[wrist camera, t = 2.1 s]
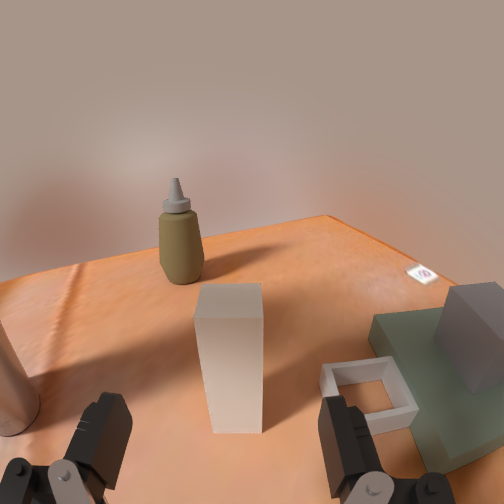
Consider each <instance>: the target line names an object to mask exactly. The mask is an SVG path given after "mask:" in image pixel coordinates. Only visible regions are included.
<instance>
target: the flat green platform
mask: <svg viewBox="0 0 504 504" xmlns="http://www.w3.org/2000/svg"><path fill="white" fill-rule="evenodd" d="M368 340H369V342H370V344H371V346H372V348H373V350H374V352H375V354H376V356H377V358H373V359H365V360H357V361H348V362H338V363H327V364H322V369H321V374H320V379H319V385H320V389H321V393H322V397H329V396H337V395H339V392H338V389H337V386H341V385H350V384H357V383H364V382H371V381H378V380H382V382H383V385H384V387H385V389H386V391H387V394H388V396H389V398H390V401H391V403H392V405H393V408H394V409H390V410H386V411H380V412H375V413H370V414H364V416H365V418H366V421H367V424H368V428H369V430H370V433H371V436H372V435H377V434H381V433H386V432H390V431H395V430H399V429H403V428H407V427H409V428H410V430H411V433H412V435H413V438H414V440H415V442H416V445H417V447H418V450H419V452H420V455H421V457H422V460H423V462H424V465H425V467H426V470H427V472H428V473H429V472H438V473H441V474H443V475H444V474H446V473H449V472H451V471H453V470H456V469H458V468H460V467H462V466H465V465H467V464H469V463H471V462H473V461H475V460H477V459H479V458H481V457H483V456H485V455H487V454H489V453H491V452H493V451H494V450H496V449H498V448H500V447H502V446H503V445H504V289H503V288H501V287H500V286H499V285H498V284H497V283H496V282H488V283H479V284H471V285H460V286H450V288H449V292H448V295H447V298H446V301H445V305H444V307H440V308H432V309H424V310H416V311H407V312H397V313H387V314H376V315H374V317H373V321H372V326H371V330H370V334H369V338H368Z"/></svg>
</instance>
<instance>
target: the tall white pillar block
mask: <svg viewBox="0 0 504 504" xmlns="http://www.w3.org/2000/svg"><path fill="white" fill-rule="evenodd" d="M193 319H194V326H195V333H196V339H197V346H198V352H199V358H200V364H201V370H202V376H203V382H204V387H205V393H206V398H207V404H208V409H209V414H210V419H211V424H212V429H213V433H231V434H246V433H262V403H263V336H264V315H263V303H262V291H261V283H244V284H202V286H201V290H200V294H199V298H198V302H197V305H196V309H195V313H194V317H193Z"/></svg>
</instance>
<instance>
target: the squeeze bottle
mask: <svg viewBox="0 0 504 504" xmlns="http://www.w3.org/2000/svg"><path fill="white" fill-rule="evenodd" d="M190 208H191V204H190V199H189V198H184V196H183V193H182V190H181V186H180V182H179V179H178V178H174V179H171V186H170V193H169V199H167V200H165V201H163V210H164V213H162V215H160V217H159V252H160V264H161V266H162V268H163V270H164V272H165V274H166V275H167V277H168V279H169V281H170V282H172V283H174V284H188V283H192V282H194V281H196V280H198V279H199V277H200V274H201V270H202V266H203V263H204V252H203V247H202V241H201V236H200V230H199V225H198V219H197V214H196V213H195V212H194V211H192V210H190Z"/></svg>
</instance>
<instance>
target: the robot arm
mask: <svg viewBox="0 0 504 504" xmlns="http://www.w3.org/2000/svg"><path fill="white" fill-rule="evenodd" d="M39 406H40V399H39V395H38V393H37V391H36V389H35V387H34V386H33V384H32V382H31V381H30V379H29V377H28V375H27V374H26V372H25V370H24V368H23V366H22V364H21V363H20V361H19V359H18V357H17V355H16V353H15V351H14V349H13V347H12V345H11V343H10V341H9V339H8V337H7V335H6V332H5V330H4V328H3V326H2V324H1V321H0V435H1V436H11V435H15V434H18V433H20V432H22V431H23V430H25V429H26V428H27V427H28V426H29V425H30V424H31V423H32V422H33V420H34V419H35V417H36V415H37V413H38V411H39ZM132 424H133V422H132V416H131V414H130V412H129V410H128V408H127V405H126V403H125V401H124V399H123V397H122V395H121V394H115V393H108V392H103V393H102V394H101V396H100V398H99V400H98V402H97V403H95V402H92V403H91V404H90V405H89V406H88V407H87V408H86V409H85V410H84V412H83V415H82V417H81V419H80V422H79V424H78V426H77V429H76V430H75V433H74V435H73V437H72V440H71V442H70V444H69V447H68V449H67V451H66V454H65V456H64V458H63V459H61V460H57V461H55V462H53V463H52V464H51V465H50V466H35V465H31V464H30V463H29V462H28V461H27V460H26V459H24V458H14V459H12V460H11V461H10V462H9V463H8V465H7V467H6V470H5V472H4V475H3V478H2V480H1V483H0V504H109V503H108V501H107V499H106V497H105V496H104V491H105V488H107V489H111V490H114V489H115V486H116V482H117V478H118V475H119V471H120V468H121V464H122V461H123V457H124V454H125V450H126V447H127V443H128V440H129V437H130V434H131V430H132ZM318 431H319V436H320V441H321V446H322V451H323V456H324V462H325V467H326V472H327V477H328V482H329V488H330V493H331V498H332V499H333V498H340V503H341V504H456V503H455V499H454V496H453V493H452V490H451V487H450V484H449V481H448V479H447V478H446V477H445V476H444V475H443V474H441V473H438V472H429V473H426V474H424V475H423V476H422V477H420V479H397V478H394V477H391V476H389V475H388V474H387V473H386V472H385V471H384V470H383V468H382V466H381V464H380V460H379V457H378V454H377V451H376V448H375V445H374V442H373V439H372V436H371V433H370V430H369V428H368V424H367V421H366V418H365V416H364V414H363V413H362V412H361V411H360V410H359V409H358V408H357V407H356V406H352V407H347V405H346V402H345V399H344V396H343V395H337V396H329V397H323V400H322V405H321V409H320V414H319V418H318Z"/></svg>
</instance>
